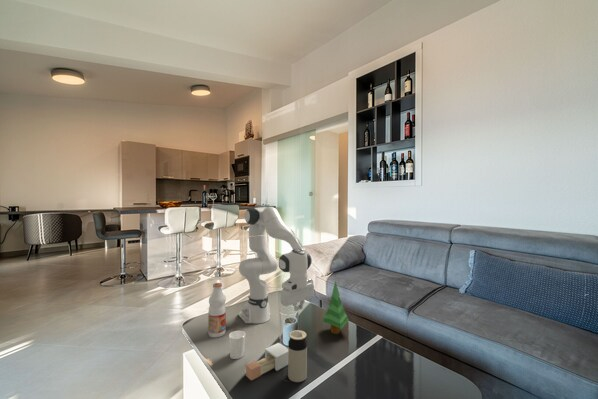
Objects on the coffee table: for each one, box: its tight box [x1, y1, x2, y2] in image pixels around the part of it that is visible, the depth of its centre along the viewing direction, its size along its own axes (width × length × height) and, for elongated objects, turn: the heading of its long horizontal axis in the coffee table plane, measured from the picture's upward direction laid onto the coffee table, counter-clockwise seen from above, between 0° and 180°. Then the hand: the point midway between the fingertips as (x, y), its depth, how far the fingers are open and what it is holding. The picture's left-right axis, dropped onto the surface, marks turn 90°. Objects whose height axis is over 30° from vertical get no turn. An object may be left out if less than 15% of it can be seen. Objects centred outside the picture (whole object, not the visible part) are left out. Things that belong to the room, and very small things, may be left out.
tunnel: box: [264, 342, 288, 371], centre depth 120 cm, size 9×8×6 cm
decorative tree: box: [321, 279, 350, 335], centre depth 149 cm, size 14×16×30 cm
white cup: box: [228, 330, 246, 360], centre depth 126 cm, size 8×8×10 cm
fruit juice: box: [207, 282, 227, 338], centre depth 147 cm, size 9×9×28 cm
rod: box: [256, 346, 288, 376], centre depth 119 cm, size 4×18×4 cm, turn 133°
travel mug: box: [287, 329, 308, 383], centre depth 111 cm, size 8×8×18 cm
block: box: [245, 360, 261, 381], centre depth 111 cm, size 4×4×4 cm
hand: (298, 309), depth 130 cm, fingers closed
